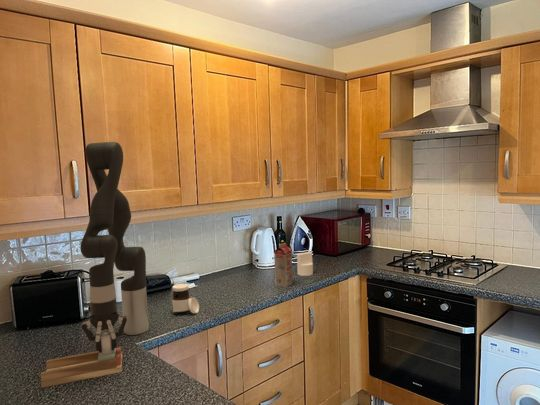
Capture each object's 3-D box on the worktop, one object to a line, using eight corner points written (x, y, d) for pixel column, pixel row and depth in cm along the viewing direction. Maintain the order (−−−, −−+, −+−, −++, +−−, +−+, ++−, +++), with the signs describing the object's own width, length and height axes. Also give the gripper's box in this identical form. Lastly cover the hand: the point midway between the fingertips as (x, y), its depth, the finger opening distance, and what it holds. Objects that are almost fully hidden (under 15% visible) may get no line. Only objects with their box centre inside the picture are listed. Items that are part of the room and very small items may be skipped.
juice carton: (275, 285, 206) (274, 244, 204) (282, 281, 211) (280, 242, 209) (286, 287, 202) (284, 245, 200) (292, 283, 208) (291, 243, 206)
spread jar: (172, 308, 176) (171, 283, 175) (198, 305, 179) (196, 281, 178) (173, 318, 164) (171, 291, 163) (200, 315, 167) (198, 288, 166)
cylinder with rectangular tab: (306, 270, 232) (306, 251, 231) (316, 274, 225) (315, 253, 224) (294, 273, 228) (293, 253, 227) (303, 276, 220) (302, 255, 219)
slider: (99, 359, 126) (97, 332, 126) (116, 356, 128) (114, 329, 127) (98, 367, 121) (96, 339, 120) (115, 364, 123) (113, 337, 122)
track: (48, 371, 123) (47, 357, 123) (122, 357, 131) (121, 344, 130) (41, 387, 114) (40, 373, 114) (121, 371, 121) (120, 358, 121)
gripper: (126, 291, 129) (130, 341, 130) (79, 297, 124) (83, 349, 125) (126, 298, 122) (130, 351, 123) (76, 304, 117) (81, 360, 118)
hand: (106, 350), depth 124 cm, fingers closed on slider, 3 cm apart
